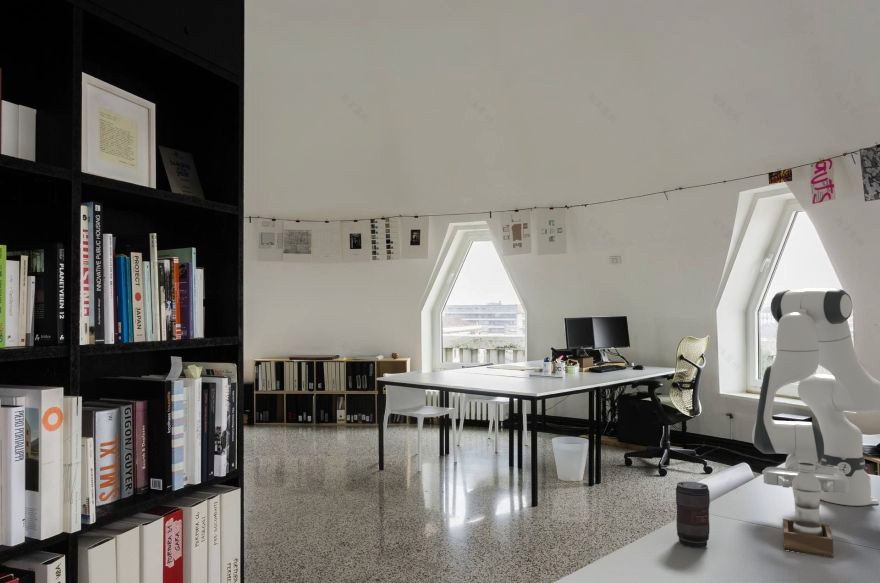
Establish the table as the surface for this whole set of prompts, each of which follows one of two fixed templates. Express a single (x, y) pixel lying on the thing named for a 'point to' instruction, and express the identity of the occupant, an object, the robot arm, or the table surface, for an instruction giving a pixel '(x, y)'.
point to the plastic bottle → (807, 501)
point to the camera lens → (693, 514)
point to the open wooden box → (808, 541)
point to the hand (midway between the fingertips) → (806, 486)
